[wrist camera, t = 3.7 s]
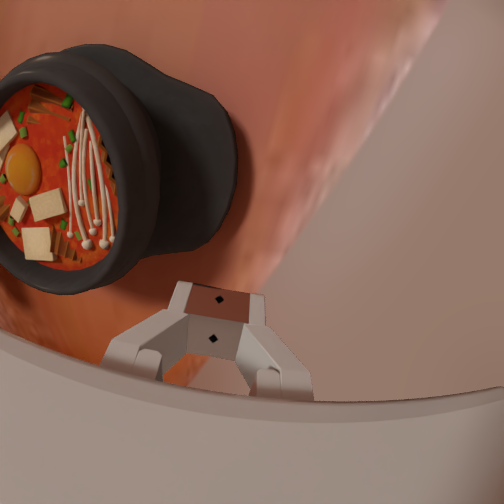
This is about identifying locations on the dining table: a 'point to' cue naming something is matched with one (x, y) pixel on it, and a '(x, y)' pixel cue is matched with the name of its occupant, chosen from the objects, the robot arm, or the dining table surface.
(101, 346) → the dining table surface
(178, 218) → the casserole
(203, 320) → the robot arm
